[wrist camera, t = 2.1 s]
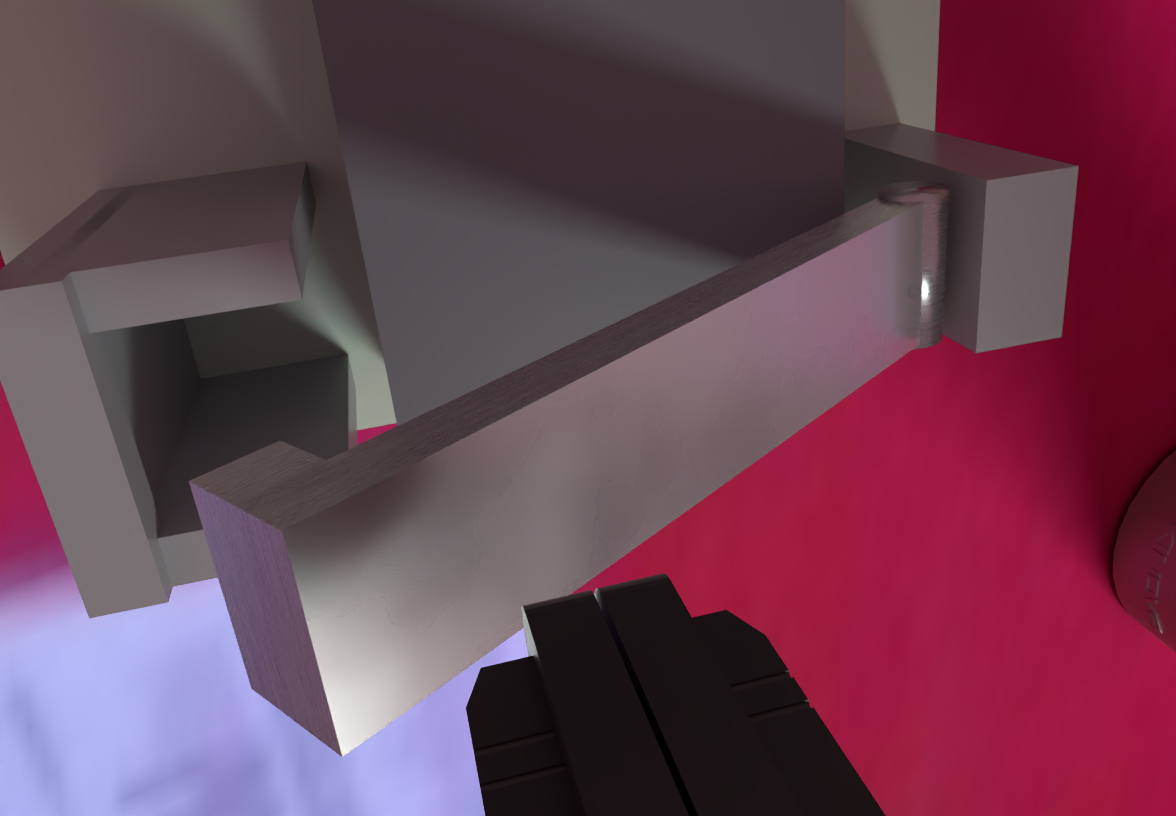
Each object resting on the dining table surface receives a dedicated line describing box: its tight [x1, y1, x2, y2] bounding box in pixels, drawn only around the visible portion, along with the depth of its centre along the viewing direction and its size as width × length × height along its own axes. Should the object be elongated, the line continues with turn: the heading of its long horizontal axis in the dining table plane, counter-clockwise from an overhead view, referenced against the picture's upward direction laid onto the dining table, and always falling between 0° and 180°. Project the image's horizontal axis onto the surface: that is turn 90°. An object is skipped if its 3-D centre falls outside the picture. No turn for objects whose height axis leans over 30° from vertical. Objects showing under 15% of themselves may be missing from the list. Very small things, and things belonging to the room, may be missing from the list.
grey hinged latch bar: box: [189, 181, 949, 757], centre depth 16 cm, size 16×3×2 cm
